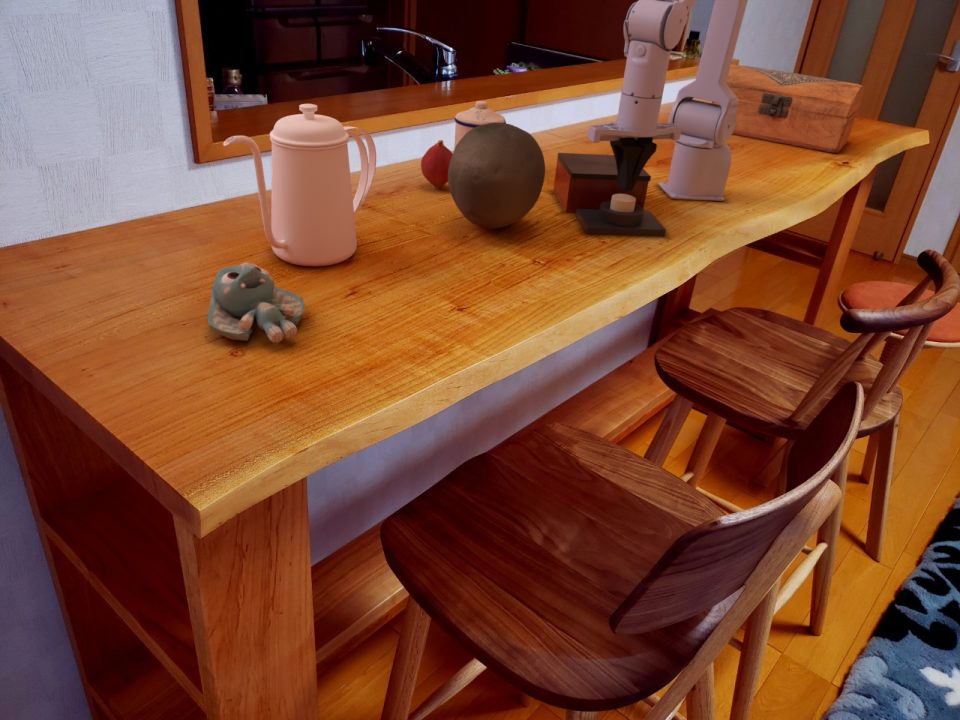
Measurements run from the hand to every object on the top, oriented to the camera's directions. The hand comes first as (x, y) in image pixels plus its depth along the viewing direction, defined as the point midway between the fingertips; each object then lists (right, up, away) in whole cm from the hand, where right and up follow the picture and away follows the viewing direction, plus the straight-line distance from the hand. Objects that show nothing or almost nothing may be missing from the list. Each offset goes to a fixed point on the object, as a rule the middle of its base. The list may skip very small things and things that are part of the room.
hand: (625, 188), depth 112 cm
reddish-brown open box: (-2, 0, +12) cm, 12 cm away
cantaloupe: (-20, -6, -2) cm, 21 cm away
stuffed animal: (-46, -22, -32) cm, 60 cm away
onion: (-29, +3, +13) cm, 32 cm away
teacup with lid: (-21, +10, +25) cm, 34 cm away
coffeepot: (-44, -12, -14) cm, 47 cm away
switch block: (0, -5, +3) cm, 6 cm away
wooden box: (+48, +27, +64) cm, 84 cm away
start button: (0, -3, +2) cm, 3 cm away
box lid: (-2, +5, +9) cm, 10 cm away
